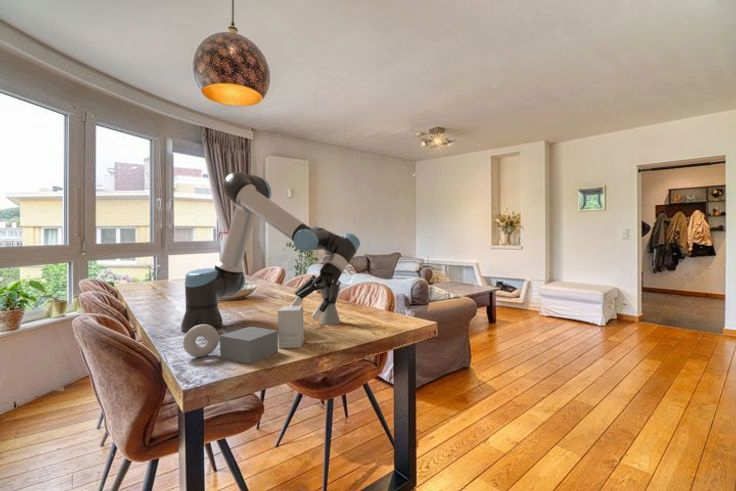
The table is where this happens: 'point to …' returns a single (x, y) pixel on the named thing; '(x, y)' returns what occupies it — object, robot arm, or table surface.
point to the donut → (194, 333)
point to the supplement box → (290, 327)
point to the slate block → (248, 344)
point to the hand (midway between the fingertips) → (301, 315)
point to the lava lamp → (330, 308)
